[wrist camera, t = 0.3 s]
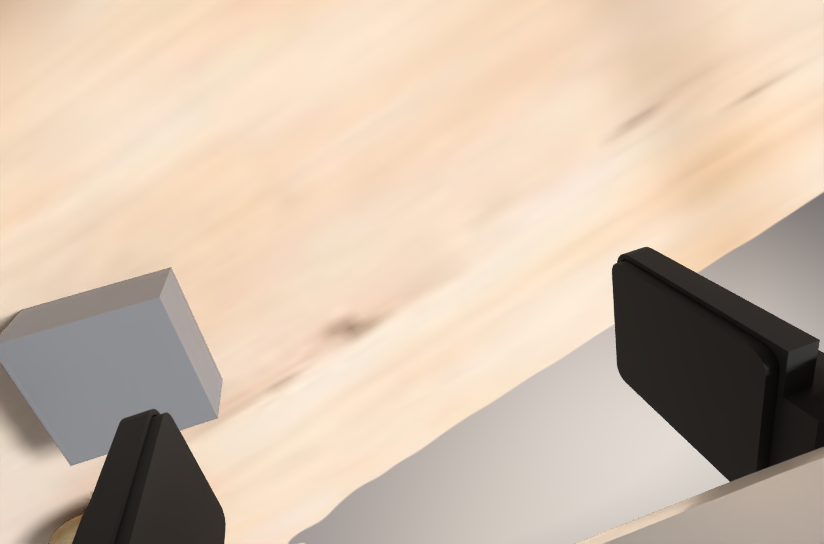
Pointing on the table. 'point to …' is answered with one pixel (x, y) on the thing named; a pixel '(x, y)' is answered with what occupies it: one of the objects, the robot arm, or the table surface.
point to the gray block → (111, 362)
